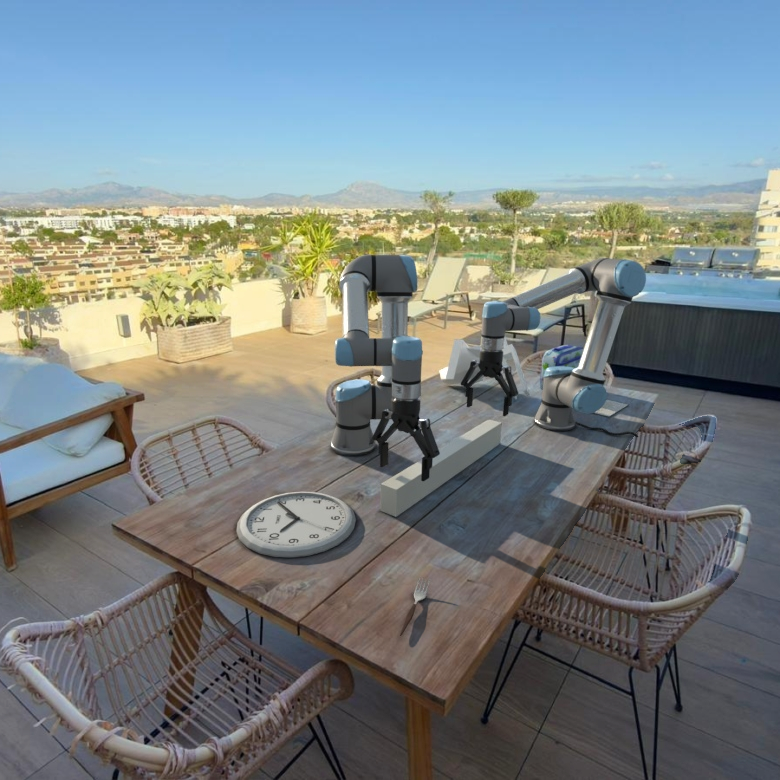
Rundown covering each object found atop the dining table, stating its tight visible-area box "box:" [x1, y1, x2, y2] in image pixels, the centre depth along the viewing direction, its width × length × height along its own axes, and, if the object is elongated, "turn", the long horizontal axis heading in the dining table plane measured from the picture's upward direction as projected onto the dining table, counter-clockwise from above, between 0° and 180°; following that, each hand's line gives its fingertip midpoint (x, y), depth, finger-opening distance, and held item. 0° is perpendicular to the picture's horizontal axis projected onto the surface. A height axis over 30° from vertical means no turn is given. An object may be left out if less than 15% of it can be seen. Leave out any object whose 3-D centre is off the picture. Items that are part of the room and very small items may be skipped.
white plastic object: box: [438, 336, 531, 400], centre depth 245 cm, size 37×45×31 cm
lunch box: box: [539, 344, 584, 391], centre depth 246 cm, size 26×11×21 cm, turn 135°
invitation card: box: [593, 399, 629, 418], centre depth 226 cm, size 21×1×15 cm
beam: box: [380, 418, 503, 518], centre depth 162 cm, size 63×5×8 cm, turn 143°
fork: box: [399, 577, 431, 637], centre depth 104 cm, size 3×16×2 cm, turn 160°
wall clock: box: [236, 491, 357, 558], centre depth 134 cm, size 30×2×30 cm
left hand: (404, 472), depth 141 cm, fingers open, 13 cm apart
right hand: (487, 410), depth 178 cm, fingers open, 13 cm apart
